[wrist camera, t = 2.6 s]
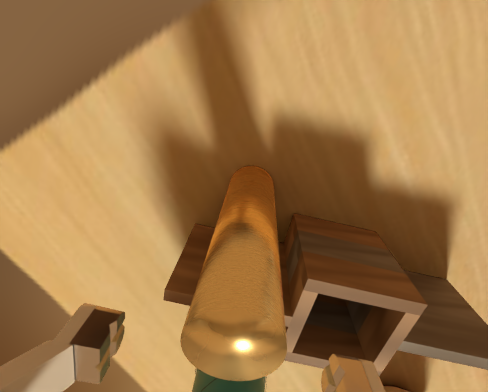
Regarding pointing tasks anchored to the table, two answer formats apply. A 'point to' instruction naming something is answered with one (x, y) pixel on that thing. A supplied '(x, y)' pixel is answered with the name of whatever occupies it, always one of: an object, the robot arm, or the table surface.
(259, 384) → the beverage bottle
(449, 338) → the brown winged open box
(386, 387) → the teacup
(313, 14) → the table surface
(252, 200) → the brass pin
